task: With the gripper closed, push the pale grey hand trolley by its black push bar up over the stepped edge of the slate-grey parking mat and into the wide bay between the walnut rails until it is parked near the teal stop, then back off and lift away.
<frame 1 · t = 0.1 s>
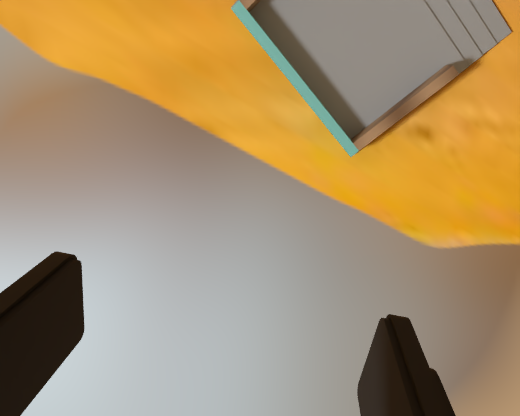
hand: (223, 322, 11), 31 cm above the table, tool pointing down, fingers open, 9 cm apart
dock: (368, 19, 35), on the table
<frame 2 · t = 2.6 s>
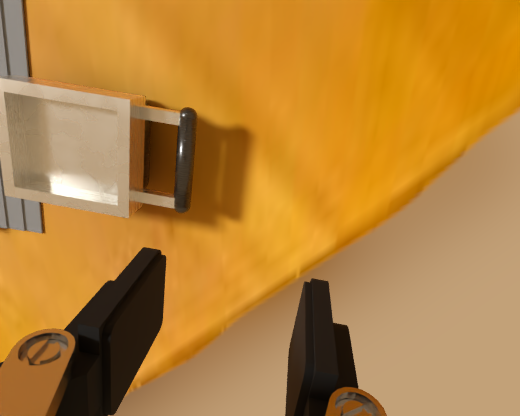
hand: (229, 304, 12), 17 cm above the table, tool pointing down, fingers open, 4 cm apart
trolley: (101, 136, 29), on the table
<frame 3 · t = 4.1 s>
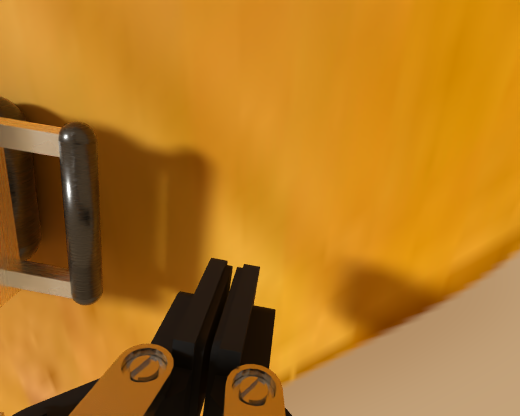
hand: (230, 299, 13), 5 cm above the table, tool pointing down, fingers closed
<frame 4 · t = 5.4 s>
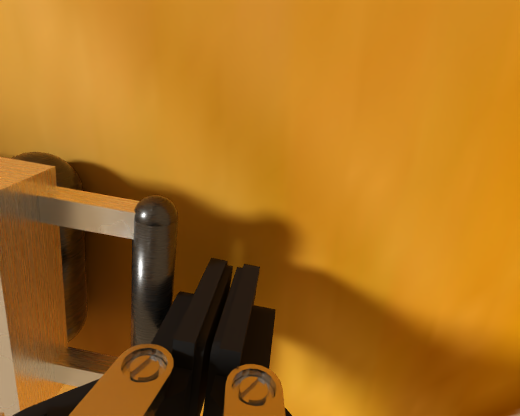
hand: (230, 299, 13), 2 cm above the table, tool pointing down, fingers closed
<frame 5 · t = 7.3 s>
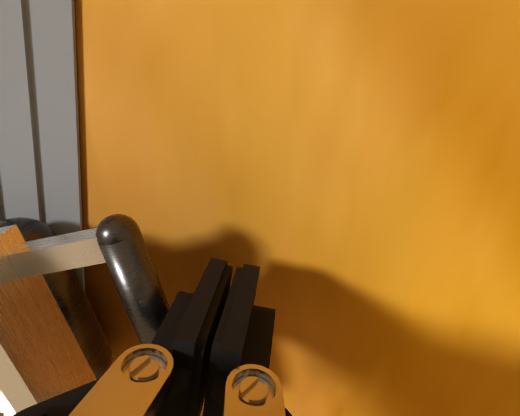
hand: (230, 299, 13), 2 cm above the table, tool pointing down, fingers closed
trolley: (1, 303, 15), on the table, tilted 5°, touching dock
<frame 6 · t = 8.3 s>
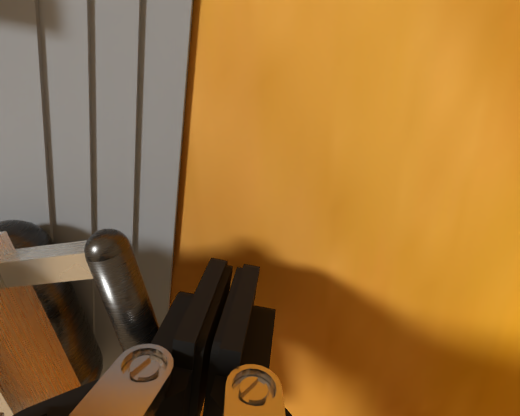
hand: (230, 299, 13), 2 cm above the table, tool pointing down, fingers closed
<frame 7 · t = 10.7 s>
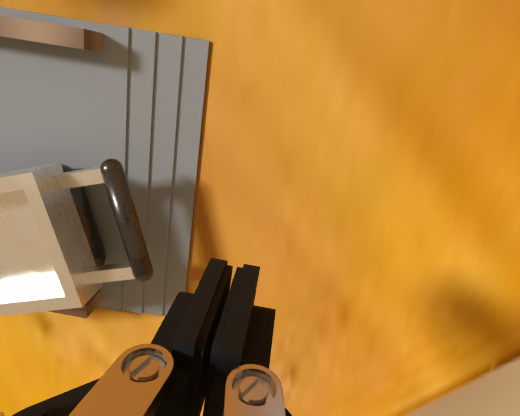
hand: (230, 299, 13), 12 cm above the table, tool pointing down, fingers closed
dock: (62, 174, 25), on the table
trolley: (42, 221, 25), point 1 cm above the table, touching dock
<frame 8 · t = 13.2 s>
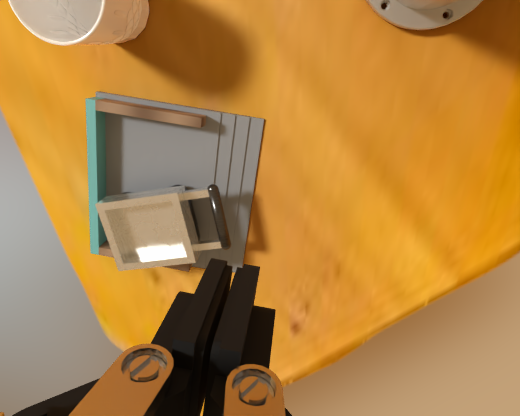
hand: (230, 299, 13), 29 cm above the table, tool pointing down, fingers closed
white cup: (117, 5, 37), on the table
dock: (175, 188, 43), on the table
trolley: (162, 215, 44), point 1 cm above the table, touching dock
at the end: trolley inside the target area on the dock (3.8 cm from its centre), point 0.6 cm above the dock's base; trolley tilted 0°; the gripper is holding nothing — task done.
